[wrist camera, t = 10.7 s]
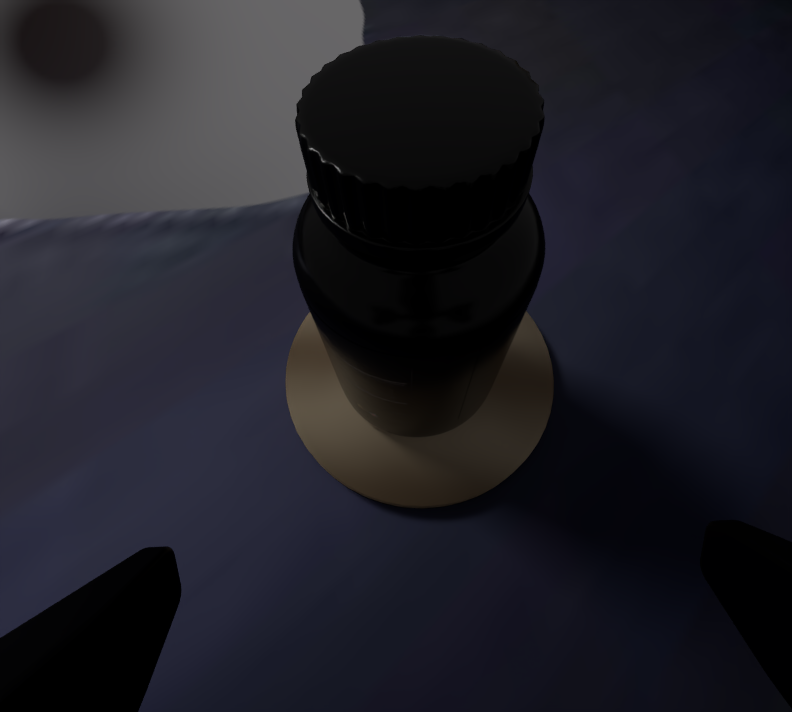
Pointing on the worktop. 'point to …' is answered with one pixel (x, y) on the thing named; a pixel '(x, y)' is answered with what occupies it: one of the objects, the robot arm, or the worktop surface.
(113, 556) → the worktop surface
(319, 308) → the supplement bottle
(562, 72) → the worktop surface
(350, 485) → the cork trivet
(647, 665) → the worktop surface
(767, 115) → the worktop surface
